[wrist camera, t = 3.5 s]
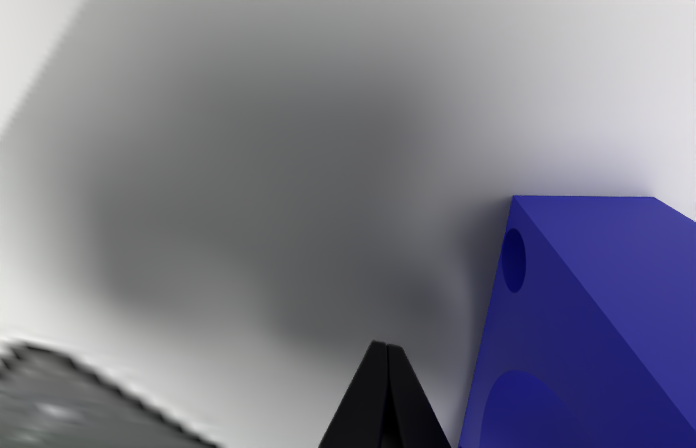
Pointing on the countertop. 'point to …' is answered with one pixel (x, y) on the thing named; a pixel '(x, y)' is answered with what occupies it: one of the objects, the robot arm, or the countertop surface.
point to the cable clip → (588, 328)
